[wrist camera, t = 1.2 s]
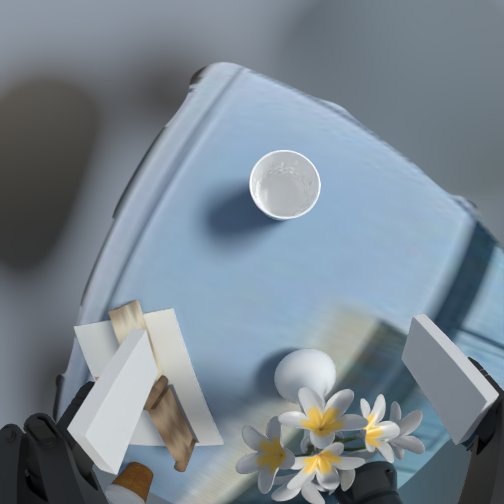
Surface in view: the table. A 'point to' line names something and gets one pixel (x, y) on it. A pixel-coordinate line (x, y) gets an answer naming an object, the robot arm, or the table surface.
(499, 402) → the robot arm
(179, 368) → the board
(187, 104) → the table surface
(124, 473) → the disposable coffee cup
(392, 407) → the flower vase
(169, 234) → the table surface
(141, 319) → the hinged fence panel
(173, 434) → the fixed fence section
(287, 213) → the white cup
